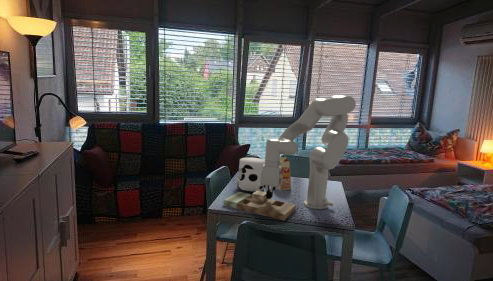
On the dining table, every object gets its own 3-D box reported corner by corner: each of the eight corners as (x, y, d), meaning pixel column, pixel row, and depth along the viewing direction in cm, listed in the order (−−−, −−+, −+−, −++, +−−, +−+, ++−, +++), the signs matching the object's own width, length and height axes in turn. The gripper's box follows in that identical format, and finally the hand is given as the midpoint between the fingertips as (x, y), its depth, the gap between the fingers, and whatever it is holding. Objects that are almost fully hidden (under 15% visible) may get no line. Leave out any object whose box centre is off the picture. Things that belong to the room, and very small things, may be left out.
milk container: (270, 189, 201) (272, 160, 198) (256, 196, 187) (258, 165, 184) (245, 183, 210) (247, 155, 207) (230, 190, 195) (232, 160, 192)
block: (267, 199, 174) (267, 192, 174) (262, 202, 169) (263, 195, 168) (257, 196, 177) (257, 190, 176) (252, 200, 172) (252, 193, 171)
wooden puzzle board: (295, 210, 169) (295, 204, 169) (284, 220, 155) (284, 214, 155) (238, 197, 184) (238, 191, 183) (223, 205, 170) (223, 199, 169)
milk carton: (291, 188, 206) (294, 157, 202) (279, 190, 200) (282, 158, 197) (281, 184, 213) (284, 154, 210) (270, 186, 208) (272, 155, 204)
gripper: (288, 164, 168) (285, 199, 171) (261, 159, 174) (258, 193, 177) (283, 167, 161) (280, 203, 164) (255, 162, 168) (252, 197, 171)
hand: (269, 198), depth 171 cm, fingers closed
